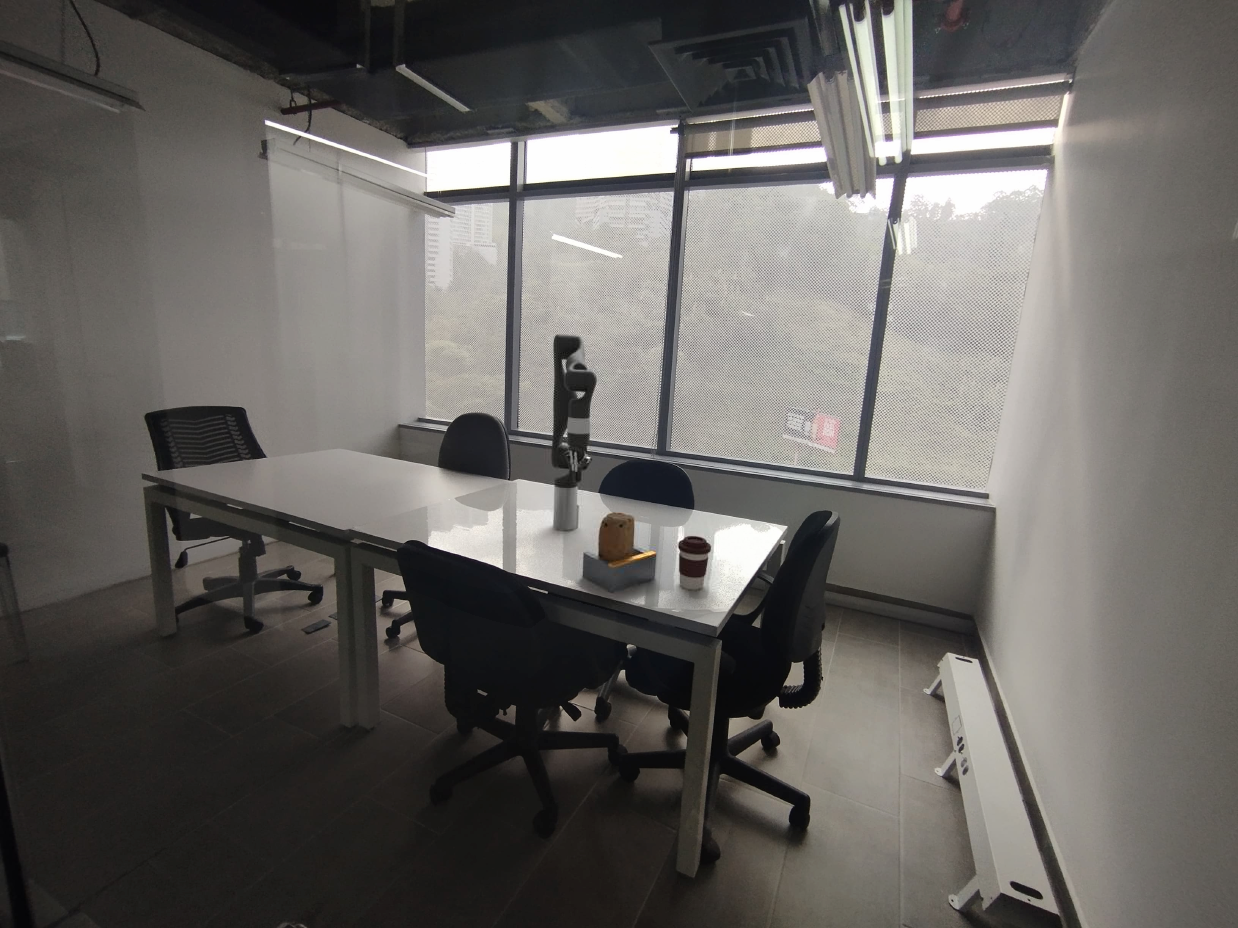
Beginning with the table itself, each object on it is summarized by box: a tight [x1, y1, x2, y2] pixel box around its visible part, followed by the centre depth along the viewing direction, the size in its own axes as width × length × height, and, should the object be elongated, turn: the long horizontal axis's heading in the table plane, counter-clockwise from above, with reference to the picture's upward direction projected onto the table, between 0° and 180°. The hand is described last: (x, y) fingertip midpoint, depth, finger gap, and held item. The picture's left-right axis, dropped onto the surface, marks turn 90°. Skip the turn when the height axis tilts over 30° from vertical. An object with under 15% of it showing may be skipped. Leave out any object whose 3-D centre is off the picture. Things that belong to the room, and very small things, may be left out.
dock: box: [581, 545, 657, 594], centre depth 166 cm, size 18×14×9 cm
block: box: [597, 512, 635, 562], centre depth 166 cm, size 11×8×20 cm
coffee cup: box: [677, 535, 712, 591], centre depth 163 cm, size 10×10×15 cm
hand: (576, 481), depth 179 cm, fingers closed
